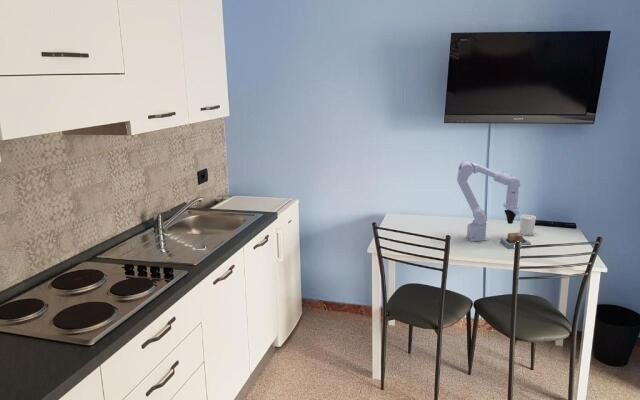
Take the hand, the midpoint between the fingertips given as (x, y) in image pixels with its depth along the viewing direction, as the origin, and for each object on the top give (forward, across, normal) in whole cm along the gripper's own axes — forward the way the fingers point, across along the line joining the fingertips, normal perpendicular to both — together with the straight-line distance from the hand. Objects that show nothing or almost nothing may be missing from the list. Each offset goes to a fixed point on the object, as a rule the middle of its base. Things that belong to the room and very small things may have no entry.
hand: (510, 223), depth 266 cm
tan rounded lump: (+9, -6, 0) cm, 11 cm away
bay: (+9, -8, 0) cm, 12 cm away
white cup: (+10, +8, -14) cm, 18 cm away
